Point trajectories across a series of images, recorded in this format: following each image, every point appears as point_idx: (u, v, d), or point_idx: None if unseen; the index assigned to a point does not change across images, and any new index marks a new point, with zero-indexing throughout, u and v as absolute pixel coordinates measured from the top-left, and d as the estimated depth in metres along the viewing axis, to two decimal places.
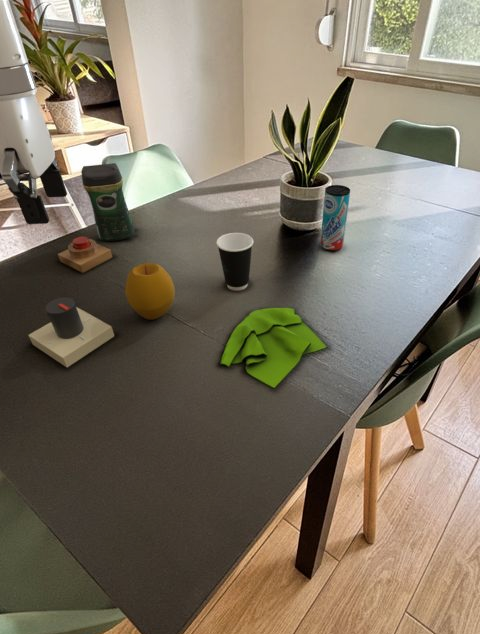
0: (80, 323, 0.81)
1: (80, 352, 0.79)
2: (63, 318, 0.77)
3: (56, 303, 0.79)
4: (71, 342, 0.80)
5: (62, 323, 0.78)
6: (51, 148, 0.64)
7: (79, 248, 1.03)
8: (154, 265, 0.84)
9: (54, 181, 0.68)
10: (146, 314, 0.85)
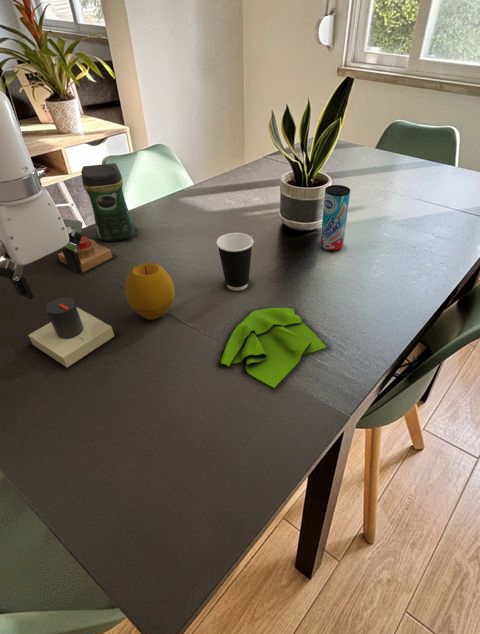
0: (80, 323, 0.81)
1: (80, 352, 0.79)
2: (63, 318, 0.77)
3: (56, 303, 0.79)
4: (71, 342, 0.80)
5: (62, 323, 0.78)
6: (60, 238, 0.71)
7: (79, 248, 1.03)
8: (154, 265, 0.84)
9: (71, 260, 0.76)
10: (146, 314, 0.85)
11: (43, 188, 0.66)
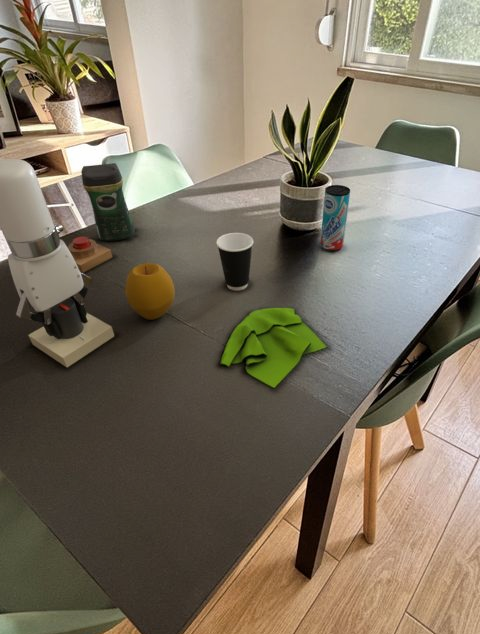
0: (80, 323, 0.81)
1: (80, 352, 0.79)
2: (63, 318, 0.77)
3: None
4: (71, 342, 0.80)
5: (62, 323, 0.78)
6: (76, 284, 0.77)
7: (79, 248, 1.03)
8: (154, 265, 0.84)
9: None
10: (146, 314, 0.85)
11: (61, 242, 0.72)
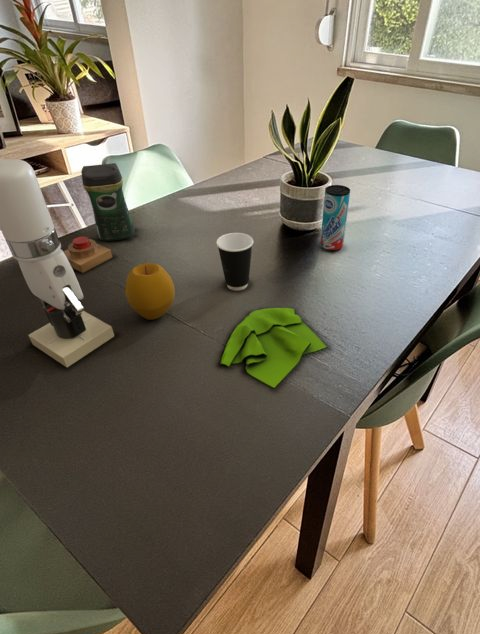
0: (62, 332, 0.79)
1: (80, 352, 0.79)
2: None
3: None
4: (71, 342, 0.80)
5: None
6: (53, 301, 0.73)
7: (79, 248, 1.03)
8: (154, 265, 0.84)
9: None
10: (146, 314, 0.85)
11: (45, 259, 0.68)
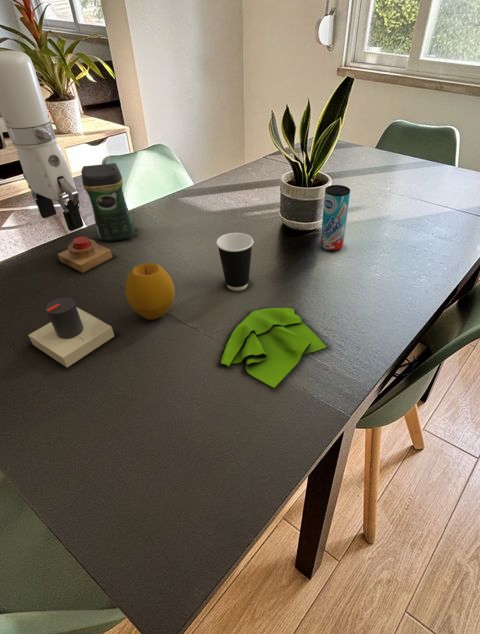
0: (62, 332, 0.79)
1: (80, 352, 0.79)
2: None
3: (64, 302, 0.79)
4: (71, 342, 0.80)
5: None
6: (48, 191, 0.81)
7: (79, 248, 1.03)
8: (154, 265, 0.84)
9: None
10: (146, 314, 0.85)
11: (41, 147, 0.76)
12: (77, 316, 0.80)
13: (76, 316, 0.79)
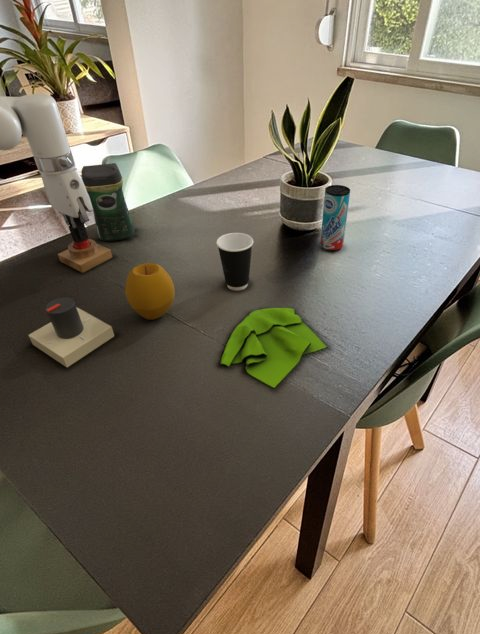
0: (62, 332, 0.79)
1: (80, 352, 0.79)
2: None
3: (64, 302, 0.79)
4: (71, 342, 0.80)
5: None
6: (69, 210, 0.95)
7: (79, 248, 1.03)
8: (154, 265, 0.84)
9: None
10: (146, 314, 0.85)
11: (63, 173, 0.90)
12: (77, 316, 0.80)
13: (76, 316, 0.79)
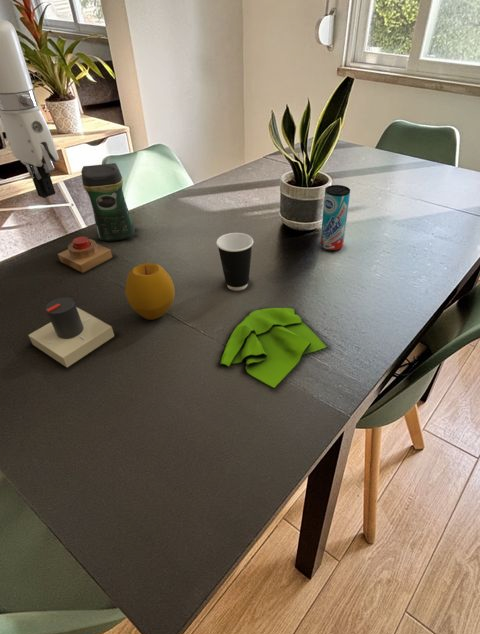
0: (62, 332, 0.79)
1: (80, 352, 0.79)
2: None
3: (64, 302, 0.79)
4: (71, 342, 0.80)
5: None
6: (32, 157, 0.85)
7: (79, 248, 1.03)
8: (154, 265, 0.84)
9: None
10: (146, 314, 0.85)
11: (24, 113, 0.80)
12: (77, 316, 0.80)
13: (76, 316, 0.79)
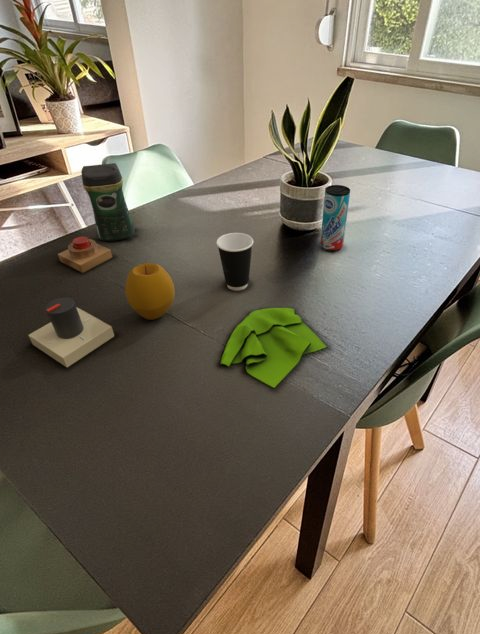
0: (62, 332, 0.79)
1: (80, 352, 0.79)
2: None
3: (64, 302, 0.79)
4: (71, 342, 0.80)
5: None
6: None
7: (79, 248, 1.03)
8: (154, 265, 0.84)
9: None
10: (146, 314, 0.85)
11: None
12: (77, 316, 0.80)
13: (76, 316, 0.79)
